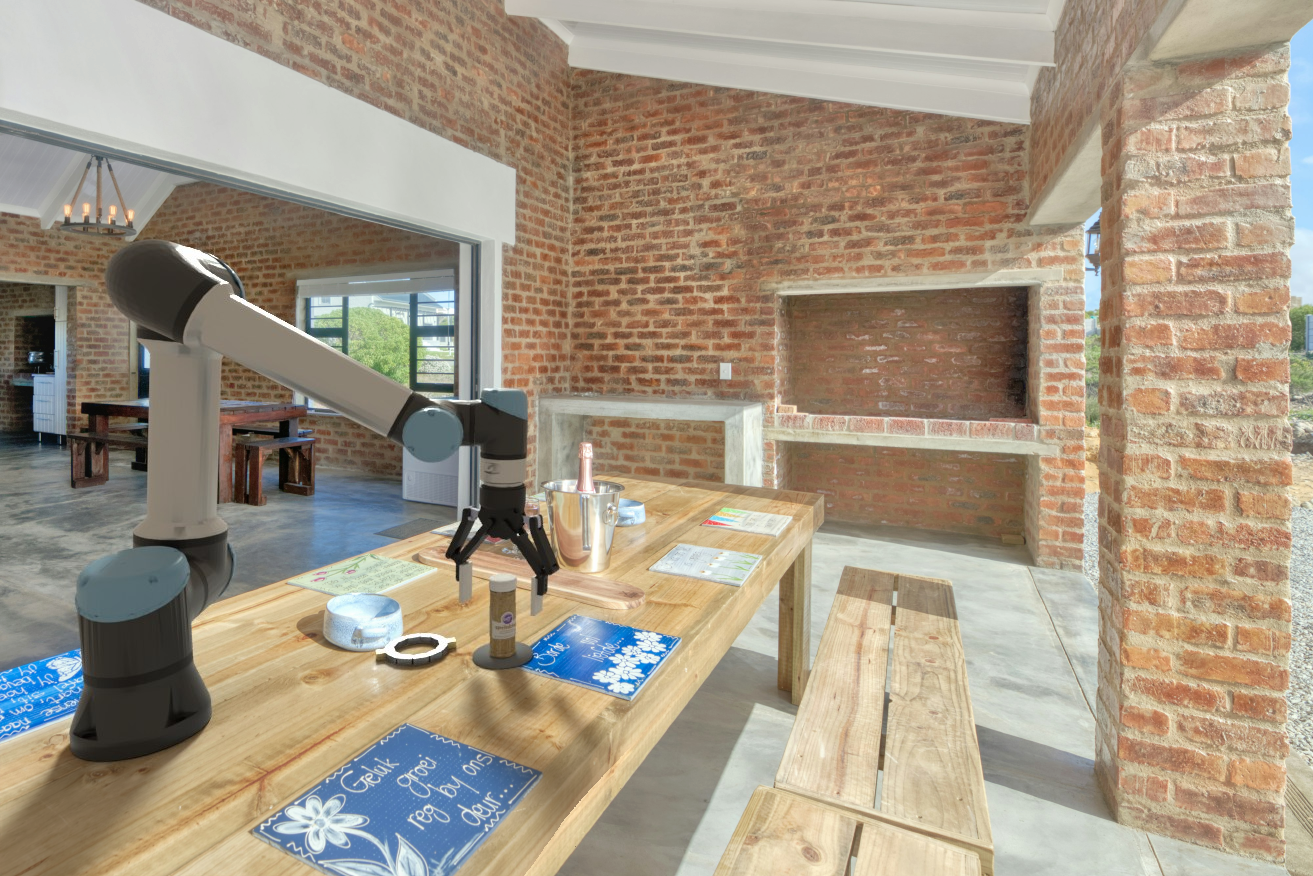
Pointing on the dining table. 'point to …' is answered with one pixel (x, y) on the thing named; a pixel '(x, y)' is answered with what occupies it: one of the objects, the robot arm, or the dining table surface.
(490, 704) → the dining table surface
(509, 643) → the sprinkles bottle
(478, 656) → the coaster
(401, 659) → the collar
